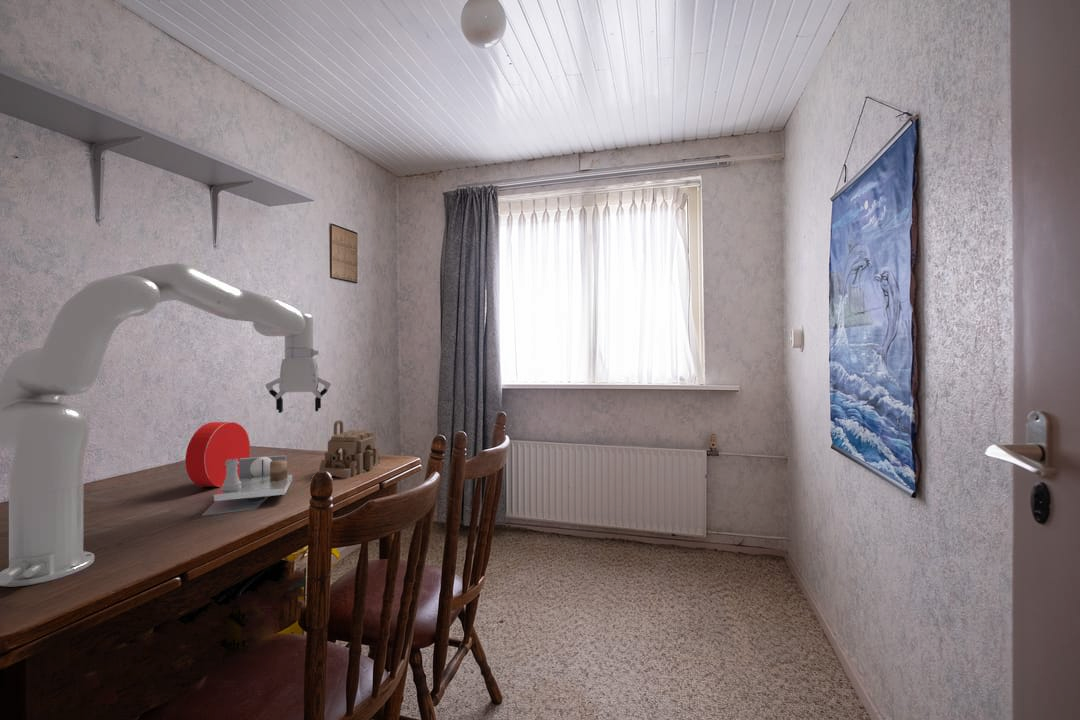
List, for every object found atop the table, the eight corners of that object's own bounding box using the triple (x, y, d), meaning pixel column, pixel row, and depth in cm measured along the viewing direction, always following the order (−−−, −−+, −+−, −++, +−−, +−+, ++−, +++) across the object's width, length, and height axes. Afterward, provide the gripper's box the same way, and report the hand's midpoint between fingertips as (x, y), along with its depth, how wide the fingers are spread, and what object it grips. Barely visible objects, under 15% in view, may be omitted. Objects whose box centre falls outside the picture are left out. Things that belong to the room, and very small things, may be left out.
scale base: (292, 509, 123) (292, 468, 123) (202, 518, 115) (202, 475, 115) (300, 488, 142) (300, 453, 142) (224, 495, 135) (224, 458, 135)
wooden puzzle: (353, 483, 148) (353, 425, 148) (312, 481, 150) (312, 424, 150) (386, 467, 170) (386, 417, 170) (349, 466, 172) (349, 416, 172)
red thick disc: (233, 477, 155) (233, 418, 155) (250, 477, 155) (250, 418, 155) (185, 494, 135) (185, 426, 135) (204, 495, 135) (204, 427, 135)
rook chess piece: (231, 492, 120) (231, 461, 120) (217, 491, 121) (217, 461, 121) (246, 487, 124) (246, 458, 124) (232, 486, 125) (232, 457, 125)
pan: (284, 504, 124) (284, 488, 124) (213, 511, 118) (213, 494, 118) (292, 488, 139) (292, 474, 139) (229, 494, 133) (229, 479, 133)
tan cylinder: (286, 479, 133) (286, 462, 133) (268, 481, 131) (268, 463, 131) (288, 476, 137) (288, 459, 137) (271, 477, 135) (271, 460, 135)
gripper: (331, 354, 144) (331, 409, 144) (268, 354, 138) (267, 411, 138) (330, 354, 137) (330, 411, 137) (263, 354, 131) (263, 414, 131)
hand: (299, 411), depth 138 cm, fingers open, 9 cm apart
